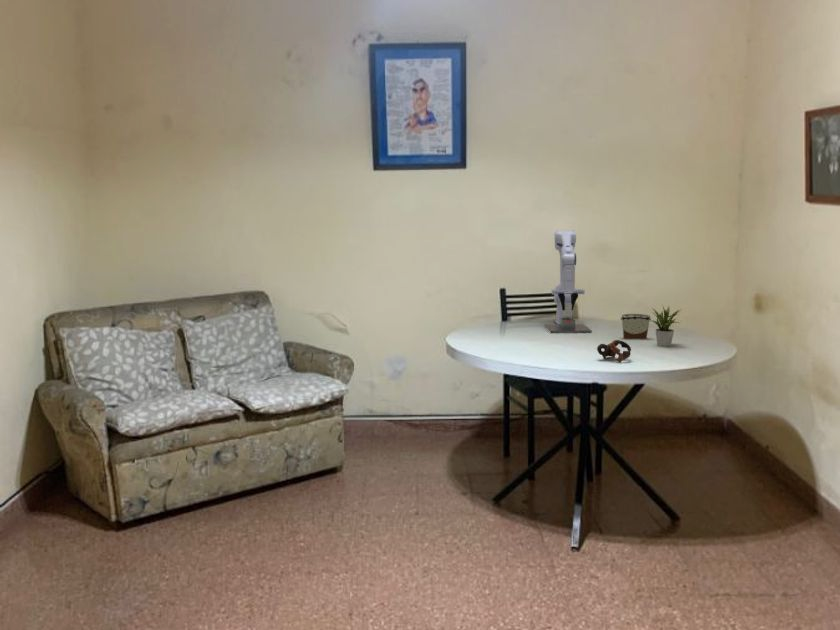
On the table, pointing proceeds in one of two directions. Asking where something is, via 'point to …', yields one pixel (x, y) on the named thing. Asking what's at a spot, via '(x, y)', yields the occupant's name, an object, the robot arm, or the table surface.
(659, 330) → the house plant
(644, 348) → the table surface
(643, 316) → the food container
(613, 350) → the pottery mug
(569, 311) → the lift column
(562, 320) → the stand base
